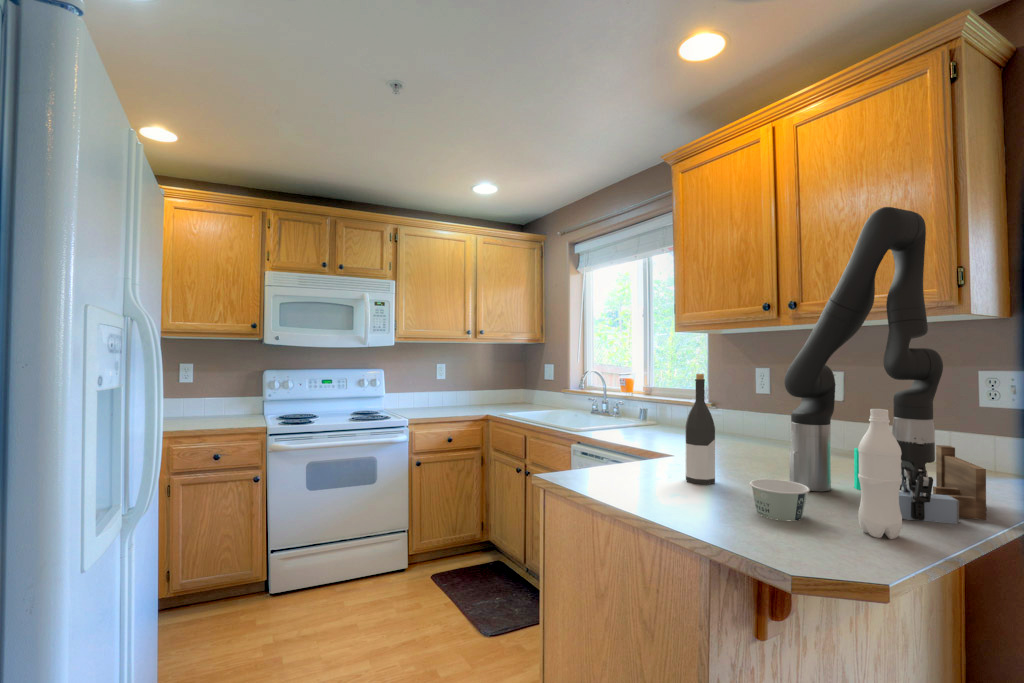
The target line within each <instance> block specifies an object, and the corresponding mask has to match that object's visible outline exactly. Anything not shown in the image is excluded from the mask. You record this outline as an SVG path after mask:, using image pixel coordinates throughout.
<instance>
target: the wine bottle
mask: <svg viewBox="0 0 1024 683" xmlns="http://www.w3.org/2000/svg"><path fill="white" fill-rule="evenodd" d="M705 381H706V380H705V374H704V373H696V374H695V381H694V382H695V402H694V403H693V405H692V407H691V409H690V411H689V413H688V415H687V418H686V422H685V480H686V482H687V484H692V485H696V486H710V485H715V484H716V427H715V423H714V419H713V416H712V413H711V411H710V410H709V408H708V405H707V403H706V401H705V398H706V397H705V393H706V392H705V391H706V390H705Z"/></svg>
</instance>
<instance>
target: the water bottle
mask: <svg viewBox="0 0 1024 683" xmlns="http://www.w3.org/2000/svg"><path fill="white" fill-rule="evenodd" d="M869 411H870V415H869V419H868V421H869V426H868V428H867V430H866V431H865V434H864V435H863V437H861V439H860V442H859V443H858V447H857V448H858V451H859V474H858V477H859V481H860V486H861V490H860V502H859V503H860V504H859V508H858V512H857V515H858V517H857V518H858V523H859V526H860V529H861V531H862V532H863V533H865V534H869V535H870V536H871V537H873V538H875V539H876V538H878V539H881V538H882V537H883V536H884V534H885V536H886V537H887V538H888V539H890V540H894V539H897V537H898V536H899V535H900V533H901V531H902V528H903V519H902V515H901V512H900V506H899V492H900V491H901V490H900V485H901V482H902V479H901V455H902V453H901V448H900V446H899V444H898V442H897V440H896V439H895V437H894V435H893V434H892V429H891V427H890V422H891V420H890V417H889V410H888V409H884V408H870V410H869Z"/></svg>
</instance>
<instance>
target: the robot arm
mask: <svg viewBox="0 0 1024 683" xmlns="http://www.w3.org/2000/svg"><path fill="white" fill-rule="evenodd" d="M926 237H927V227H926V221H925V219H924V218H923V217H922V215H920V213H918V212H915V211H912V210H907V209H902V208H897V207H891V206H884V207H881V208H880V207H879V208H878V209H877V210H874V211H873V212H872V213H871V215H870V216H869V217H868V218H867V220H866V221H865V223H864V225H863V227H862V229H861V231H860V234H859V235H858V239H857V241H856V243H855V246H854V249H853V251H852V253H851V256H850V257H849V260H848V263H847V264H846V266H845V268H844V270H843V272H842V275H841V277H840V278H839V280H838V283H837V284H836V286H835V288H834V290H833V291H832V293H831V295H830V296H829V298H828V301H827V302H826V304H825V305H824V308H823V310H822V312H821V313H820V316H819V318H818V320H817V321H816V323H815V325H814V327H813V329H812V330H811V331H810V332H811V333H810V334H809V336H808V337H807V339H806V341H805V344H804V345H803V346H802V348H801V349H800V351H799V352H798V353H797V355H796V356H795V358H794V359H793V361H792V362H791V363H790V365H789V367H788V368H787V370H786V372H785V375H784V379H783V380H784V381H783V382H784V383H783V384H784V387H785V390H786V391H787V393H788V394H789V395H790V396H792V397H794V398H798V399H799V398H801V400H800V401H801V402H800V404H799V405H798V407H796V408H794V409H793V410H792V411H791V413H790V424H791V425H790V426H791V429H790V434H791V436H790V439H791V440H790V448H789V481H791V482H796V483H799V484H802V485H805V486H807V487H808V488H809V489H810V491H809V492H811V491H813V492H828V491H830V490H831V489H832V478H831V477H832V473H831V471H832V469H831V468H832V466H831V465H832V464H831V463H832V462H831V458H832V457H831V456H832V455H831V453H832V452H831V451H832V450H831V448H832V447H831V442H832V441H831V432H832V431H831V430H832V429H831V420H832V416H833V414H834V412H835V400H836V399H835V398H836V380H835V375H834V372H833V371H832V369H831V368H830V367H829V366H828V365H826V364H827V362H828V361H829V359H830V358H831V357H832V356H833V354H834V353H835V352H837V350H839V349H840V348H841V347H842V346H843V345H845V344H846V343H847V342H848V341H849V340H850V339H851V338H852V337H854V335H856V334H857V333H858V331H859V330H860V329H861V327H862V326H863V324H864V323H865V322H866V319H867V318H868V316H869V314H870V312H871V310H872V308H873V306H874V302H875V294H876V291H875V290H876V275H877V272H878V269H879V266H880V265H881V262H882V261H883V259H884V257H885V255H886V254H887V253H888V251H889V250H890V251H891V254H892V255H893V256H892V257H893V260H894V274H893V278H892V282H891V285H890V287H889V290H888V293H887V297H886V302H885V303H886V308H885V309H886V315H887V323H888V324H887V325H888V334H887V335H888V336H887V342H886V346H885V351H884V354H883V355H884V356H883V362H882V363H883V367H884V371H885V373H886V374H887V375H888V376H889V377H890V378H892V379H893V380H898V381H901V380H902V381H913V382H912V384H911V386H910V387H909V388H908V389H903V390H900V391H897V392H895V393H894V395H893V419H892V427H891V432H892V434H893V435H894V437H895V439H896V440H897V442H898V444H899V446H900V448H901V453H902V455H901V479H902V482H901V485H900V490H899V491H900V492H910V495H911V501H912V502H911V517H912V518H913V519H914V520H913V521H920V520H924V518H925V515H924V503H926V502H928V503H929V502H930V498H931V494H932V493H933V485H934V478H933V477H932V476H929V474H928V470H927V467H926V464H931V463H934V462H936V439H935V437H936V436H935V435H936V434H935V433H936V432H935V431H936V428H935V424H934V399H935V397H936V393H937V390H938V388H939V385H940V381H941V378H942V375H943V370H944V363H943V359H942V357H941V355H940V354H939V353H938V352H937V351H936V350H934V349H932V348H925V347H920V348H919V347H918V348H917V347H915V348H914V347H913V348H911V347H910V343H911V340H913V339H916V338H921V337H923V336H926V335H927V334H928V332H929V331H928V330H929V326H928V325H929V324H928V318H927V311H926V304H925V295H924V294H925V292H924V270H925V268H924V267H925V254H926V253H925V252H926V250H925V249H926V240H927V239H926ZM920 493H921V496H920Z"/></svg>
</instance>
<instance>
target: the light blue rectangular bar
mask: <svg viewBox="0 0 1024 683" xmlns="http://www.w3.org/2000/svg"><path fill="white" fill-rule="evenodd" d="M920 496H921V493H920ZM911 502H912V501H911V495H910V492H901V491H899V506H900V512H901V515H902V520H911V521H915V520H914V519H913V518H912V517H911ZM924 515H925V518H924V520H919V521H921V522H922V521H923V522H930V523H931V522H934V523H943V524H953V525H957V524H960V518H959V501H958V500H957V499H955V498H953V497H951V496H948V495H938V494H933V493H931V498H930V502H929V503H928V502H926V503H924Z"/></svg>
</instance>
